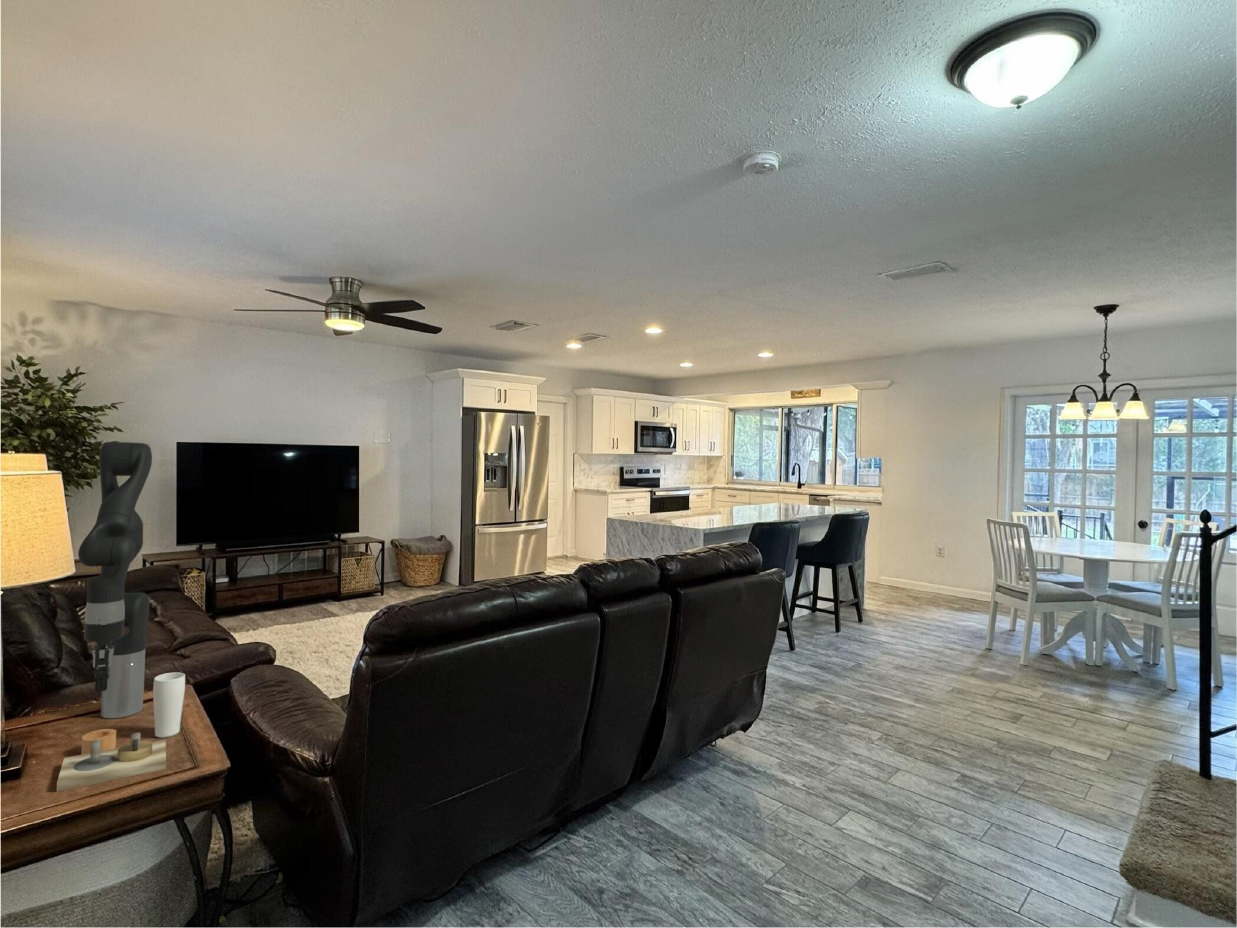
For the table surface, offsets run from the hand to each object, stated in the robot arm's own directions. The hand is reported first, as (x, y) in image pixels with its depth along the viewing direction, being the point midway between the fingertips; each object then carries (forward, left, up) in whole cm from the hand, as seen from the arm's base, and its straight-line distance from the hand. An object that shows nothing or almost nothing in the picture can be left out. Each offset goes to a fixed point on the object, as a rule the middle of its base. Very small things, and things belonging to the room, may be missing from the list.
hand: (102, 685), depth 153 cm
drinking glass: (-3, +13, -16) cm, 21 cm away
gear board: (+12, +3, -16) cm, 20 cm away
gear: (0, 0, -16) cm, 16 cm away
